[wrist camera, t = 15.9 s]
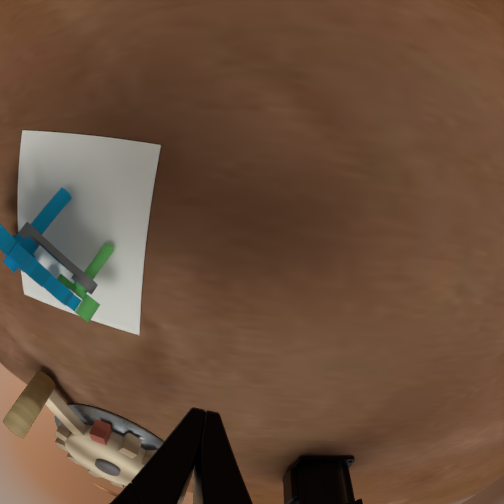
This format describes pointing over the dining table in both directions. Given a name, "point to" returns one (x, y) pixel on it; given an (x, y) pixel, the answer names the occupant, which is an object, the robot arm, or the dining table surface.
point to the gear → (31, 238)
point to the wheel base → (114, 424)
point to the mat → (91, 214)
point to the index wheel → (79, 434)
